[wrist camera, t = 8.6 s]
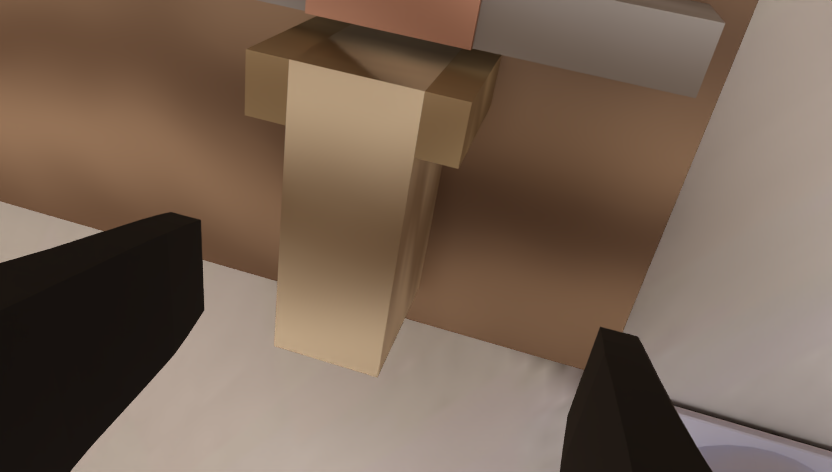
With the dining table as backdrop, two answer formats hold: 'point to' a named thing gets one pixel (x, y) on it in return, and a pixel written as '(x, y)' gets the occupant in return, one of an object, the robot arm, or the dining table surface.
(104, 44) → the board
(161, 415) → the dining table surface
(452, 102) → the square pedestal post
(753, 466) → the robot arm
